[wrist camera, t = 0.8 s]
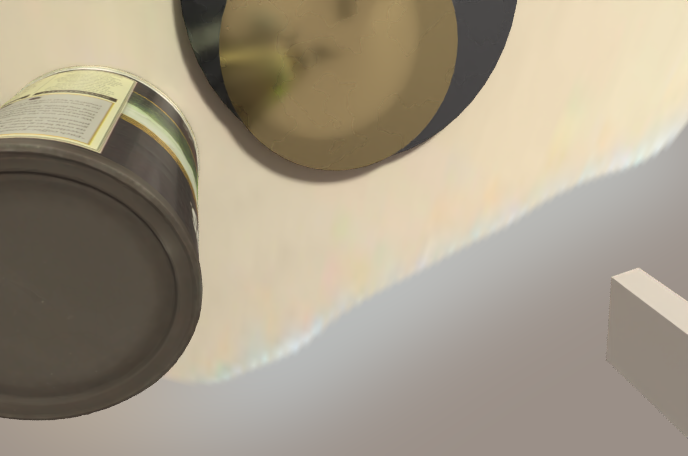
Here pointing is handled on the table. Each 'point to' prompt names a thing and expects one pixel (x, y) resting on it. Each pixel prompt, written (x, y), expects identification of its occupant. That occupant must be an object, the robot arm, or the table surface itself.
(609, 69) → the table surface
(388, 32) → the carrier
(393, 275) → the table surface
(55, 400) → the coffee can
